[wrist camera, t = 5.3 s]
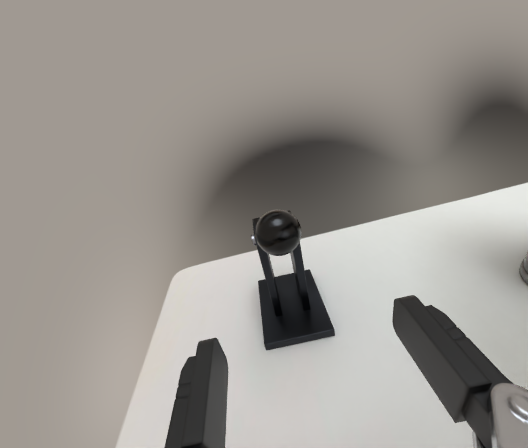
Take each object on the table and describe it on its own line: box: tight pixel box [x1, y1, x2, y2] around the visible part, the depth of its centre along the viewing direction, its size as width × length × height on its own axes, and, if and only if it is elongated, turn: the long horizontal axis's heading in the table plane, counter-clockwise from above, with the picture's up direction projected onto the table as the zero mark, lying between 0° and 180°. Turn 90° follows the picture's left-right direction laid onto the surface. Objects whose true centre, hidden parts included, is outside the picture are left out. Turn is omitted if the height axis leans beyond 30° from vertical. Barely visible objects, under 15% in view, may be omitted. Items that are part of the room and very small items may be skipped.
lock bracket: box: [251, 211, 335, 350], centre depth 32 cm, size 12×9×15 cm
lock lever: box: [255, 210, 301, 256], centre depth 24 cm, size 14×4×4 cm
